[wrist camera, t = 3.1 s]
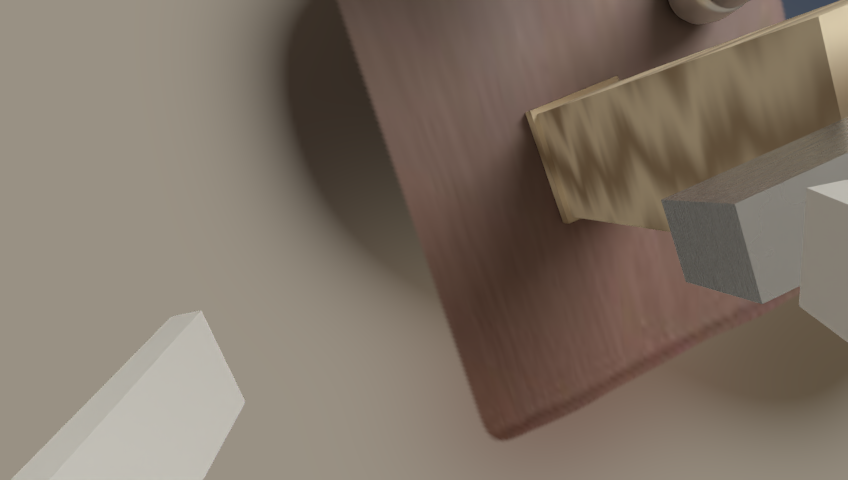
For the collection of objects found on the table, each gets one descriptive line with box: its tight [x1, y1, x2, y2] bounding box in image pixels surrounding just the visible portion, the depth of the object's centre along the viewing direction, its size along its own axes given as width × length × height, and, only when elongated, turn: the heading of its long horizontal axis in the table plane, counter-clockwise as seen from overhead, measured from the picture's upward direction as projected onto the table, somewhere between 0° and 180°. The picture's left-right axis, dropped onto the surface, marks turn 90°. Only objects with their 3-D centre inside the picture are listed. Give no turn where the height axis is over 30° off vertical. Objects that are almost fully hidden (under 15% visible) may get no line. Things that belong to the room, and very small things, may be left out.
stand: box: [525, 0, 848, 232], centre depth 32 cm, size 11×9×27 cm
